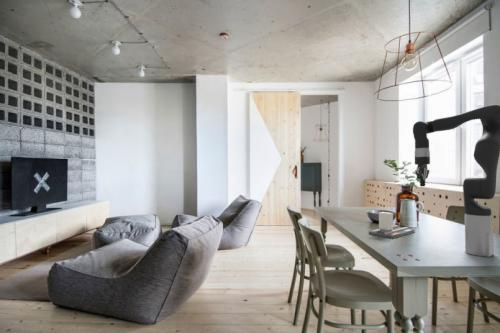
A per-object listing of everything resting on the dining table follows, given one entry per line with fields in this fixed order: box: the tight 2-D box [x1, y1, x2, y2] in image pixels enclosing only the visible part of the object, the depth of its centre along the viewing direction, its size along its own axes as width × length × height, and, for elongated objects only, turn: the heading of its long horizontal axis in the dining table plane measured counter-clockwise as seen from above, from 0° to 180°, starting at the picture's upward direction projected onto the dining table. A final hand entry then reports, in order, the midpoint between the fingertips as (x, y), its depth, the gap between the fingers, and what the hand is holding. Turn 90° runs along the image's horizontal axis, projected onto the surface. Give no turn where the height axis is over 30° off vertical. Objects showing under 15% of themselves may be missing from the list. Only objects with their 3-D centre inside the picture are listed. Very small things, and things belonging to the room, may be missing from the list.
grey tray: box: [368, 224, 416, 239], centre depth 165 cm, size 14×24×2 cm, turn 125°
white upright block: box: [378, 211, 394, 233], centre depth 161 cm, size 6×5×11 cm
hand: (422, 186), depth 164 cm, fingers closed
